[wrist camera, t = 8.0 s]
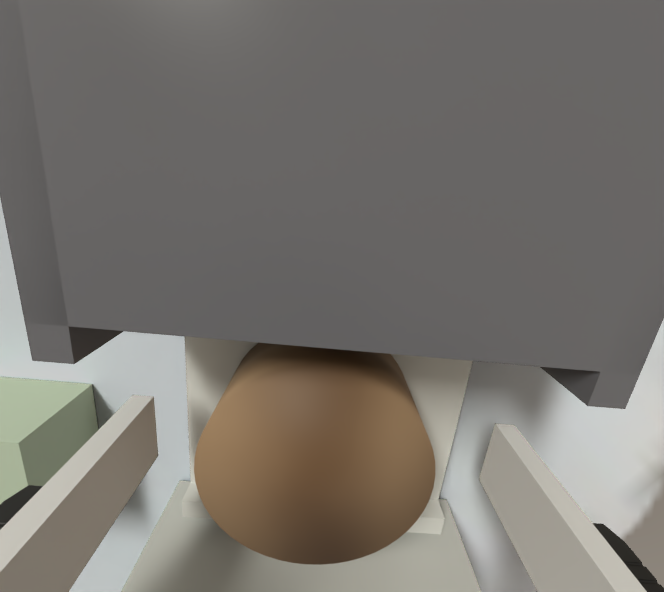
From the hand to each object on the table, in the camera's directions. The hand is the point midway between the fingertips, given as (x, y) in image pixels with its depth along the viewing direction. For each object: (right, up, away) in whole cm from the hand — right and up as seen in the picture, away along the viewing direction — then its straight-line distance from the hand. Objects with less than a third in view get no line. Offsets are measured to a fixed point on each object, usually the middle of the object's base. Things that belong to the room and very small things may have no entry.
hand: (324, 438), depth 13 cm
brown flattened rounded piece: (0, +1, +2) cm, 2 cm away
